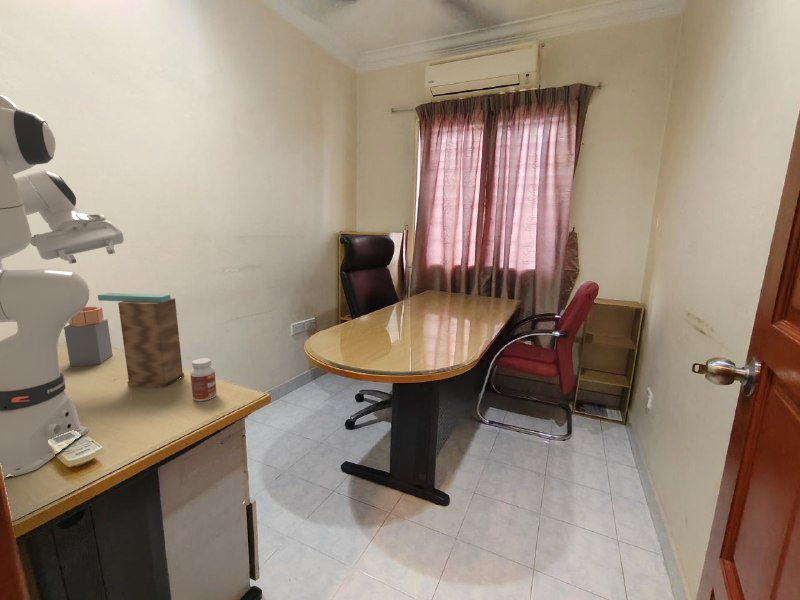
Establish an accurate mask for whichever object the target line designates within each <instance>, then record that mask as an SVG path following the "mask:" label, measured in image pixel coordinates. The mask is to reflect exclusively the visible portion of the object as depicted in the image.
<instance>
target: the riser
mask: <svg viewBox="0 0 800 600" xmlns="http://www.w3.org/2000/svg"><path fill="white" fill-rule="evenodd" d="M102 320H103V322H102V323H99V324H95V325H90V326H80V327H74V326H70V324H69V325H65V326H64V328H63V330H64V336H65V342H66V349H67V354H68V361H69V366H70V367H77V366H79V367H81V366H92V365H102V364H103V363H104V362H106V361H108V359H110V358H111V357H113V351H112V341H111V334H110V328H109V322H108V321H109V320H108V319H102Z"/></svg>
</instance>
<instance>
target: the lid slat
mask: <svg viewBox="0 0 800 600" xmlns="http://www.w3.org/2000/svg"><path fill="white" fill-rule="evenodd" d="M97 299H98V300H97V301H103V302H107V301H108V302H123V301H130V302H161V303H162V302H165V301H169V300H171V299H172V298H171V294H158V293H157V294H154V293H127V292H126V293H122V292H121V293H120V292H115V293H114V292H107V293H101V294H98V295H97Z"/></svg>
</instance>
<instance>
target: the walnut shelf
mask: <svg viewBox="0 0 800 600" xmlns="http://www.w3.org/2000/svg"><path fill="white" fill-rule="evenodd" d="M117 305H118V314H119V317H120V326H121V334H122V340H123V343H122V344H123V347H124V348H123V349H124V355H125V363H126V370H127V378H128V381H127V382H126V383H127V386H128V387H142V388H143V387H145V388H146V387H148V388H149V387H150V388H163V389H164V388H167V387H169V386H170V385H172V384H173V382H174V383H175V382H176V380H177V379H178V380H180V379H181V378H180V377H182V376H183V377H185V372H183V362H182V361H183V360H182V354H181V353H182V352H181V343H180V334H179V332H180V331H179V322H178V316H177V315H178V313H177V304H176V298H171V300H169V301H165V302H162V303H161V302H130V301H118V302H117ZM183 377H182V378H183ZM179 378H180V379H179ZM178 380H177V381H178ZM168 385H169V386H168Z"/></svg>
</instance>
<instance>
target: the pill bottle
mask: <svg viewBox="0 0 800 600" xmlns="http://www.w3.org/2000/svg"><path fill="white" fill-rule="evenodd" d="M191 363H192V364H191V365H192V369H190V375H189V376H190V384H191V393H192V395H191V396H192V400H194V401H196V402H204V401H209V399H210V400H212V399H214V398H215V397H216V396H217V385H216V384H217V383H216V382H217V381H216V371H215V368H214V366H212V360H211V358H208V357H207V358H206V357H203V358H202V357H201V358H197V359H194V360H192V362H191ZM213 397H214V398H213ZM211 398H212V399H211Z"/></svg>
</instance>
